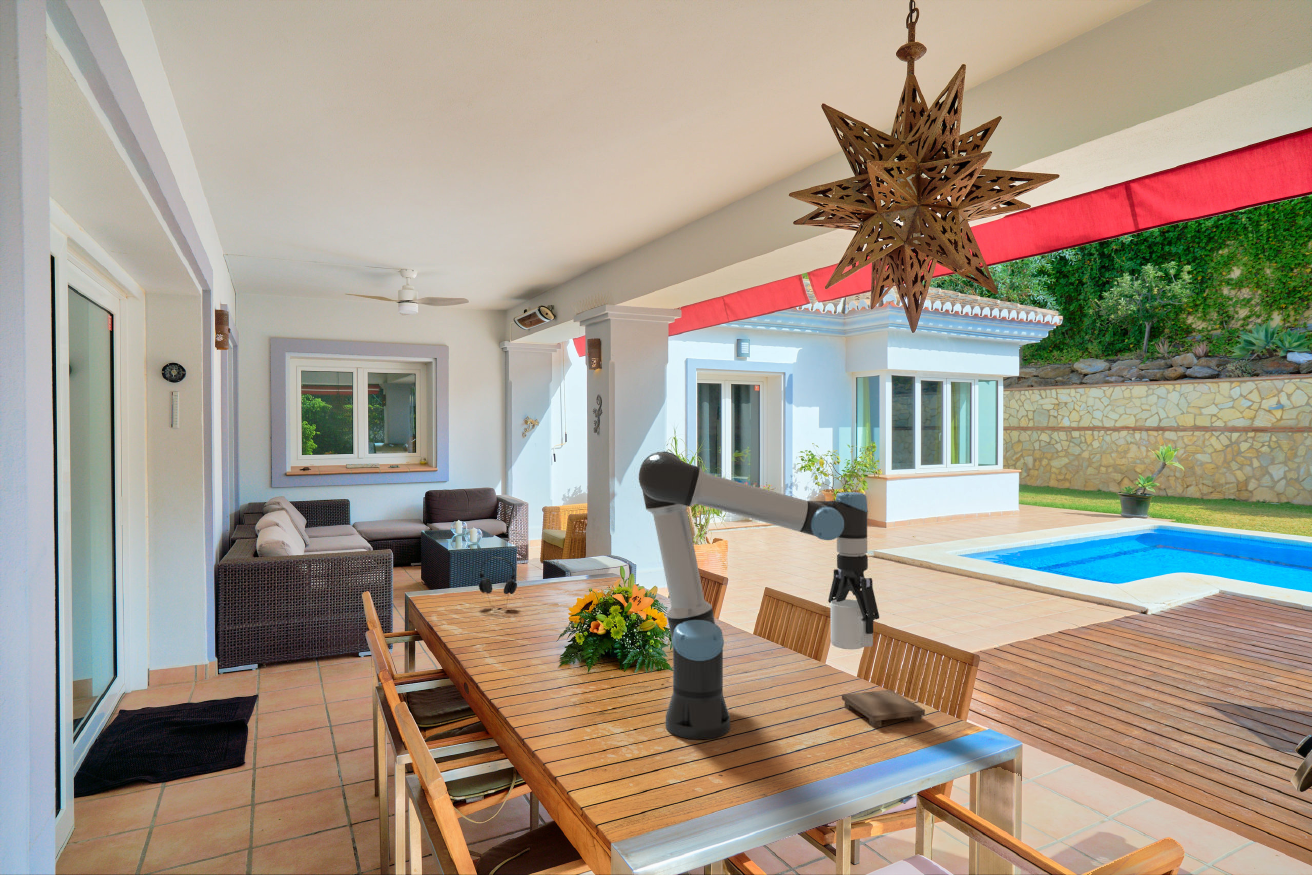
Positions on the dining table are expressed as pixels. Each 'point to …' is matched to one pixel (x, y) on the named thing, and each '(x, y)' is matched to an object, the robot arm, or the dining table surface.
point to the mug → (846, 624)
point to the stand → (883, 706)
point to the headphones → (487, 585)
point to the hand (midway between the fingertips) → (852, 639)
